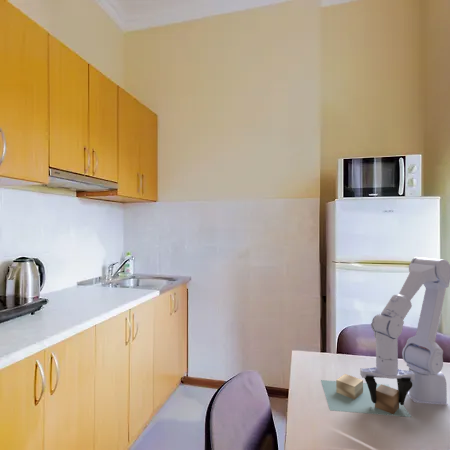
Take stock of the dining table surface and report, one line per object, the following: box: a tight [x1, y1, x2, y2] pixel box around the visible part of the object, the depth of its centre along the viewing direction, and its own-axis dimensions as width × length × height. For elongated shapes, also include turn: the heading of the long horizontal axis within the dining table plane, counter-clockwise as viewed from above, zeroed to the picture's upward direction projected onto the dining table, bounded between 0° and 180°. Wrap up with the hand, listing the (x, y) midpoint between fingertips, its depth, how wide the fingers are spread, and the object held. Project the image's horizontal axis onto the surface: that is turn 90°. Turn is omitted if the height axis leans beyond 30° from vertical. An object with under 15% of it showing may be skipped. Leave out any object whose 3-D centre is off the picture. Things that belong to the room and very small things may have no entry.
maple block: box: [335, 373, 364, 400], centre depth 100 cm, size 6×6×4 cm
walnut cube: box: [375, 383, 399, 414], centre depth 91 cm, size 5×5×5 cm
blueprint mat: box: [320, 379, 412, 418], centre depth 97 cm, size 22×18×1 cm
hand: (387, 402), depth 91 cm, fingers closed on walnut cube, 7 cm apart
